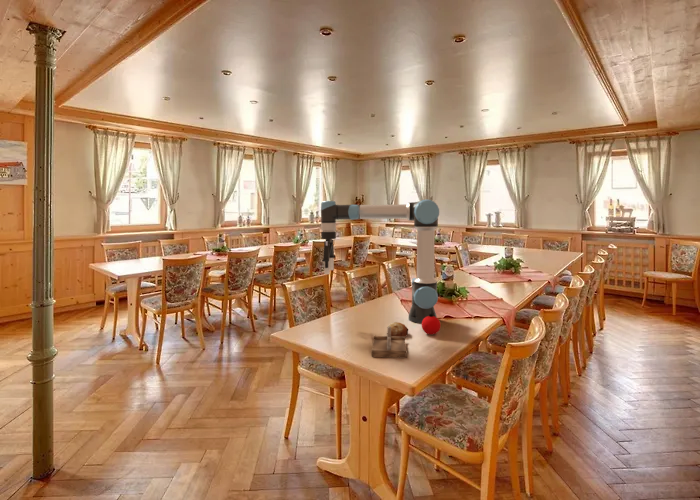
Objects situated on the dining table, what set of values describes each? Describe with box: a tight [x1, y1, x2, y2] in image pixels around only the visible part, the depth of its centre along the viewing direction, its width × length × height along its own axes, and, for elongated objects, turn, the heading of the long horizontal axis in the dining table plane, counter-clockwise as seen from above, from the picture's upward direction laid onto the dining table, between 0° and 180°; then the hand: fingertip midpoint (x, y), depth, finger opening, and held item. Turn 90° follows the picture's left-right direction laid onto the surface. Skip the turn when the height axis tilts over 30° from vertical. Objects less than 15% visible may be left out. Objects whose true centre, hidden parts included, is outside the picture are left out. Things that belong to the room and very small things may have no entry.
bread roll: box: [388, 321, 409, 338], centre depth 184 cm, size 10×10×8 cm
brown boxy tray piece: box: [371, 326, 407, 358], centre depth 165 cm, size 14×18×8 cm
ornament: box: [421, 314, 442, 336], centre depth 184 cm, size 9×9×10 cm
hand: (329, 272), depth 199 cm, fingers open, 13 cm apart
